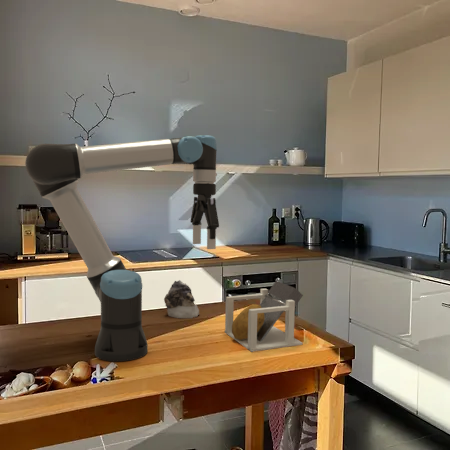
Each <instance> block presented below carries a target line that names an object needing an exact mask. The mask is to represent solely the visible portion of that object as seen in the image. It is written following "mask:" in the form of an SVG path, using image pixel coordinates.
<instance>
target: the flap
mask: <svg viewBox="0 0 450 450" xmlns="http://www.w3.org/2000/svg"><path fill="white" fill-rule="evenodd" d="M303 296H304V295H303V294H302V293H301V292H300V291H299V290H298V289H297V288H296V287H293V286H291V285H288V284H285V283H282V282H280V281H279V280H278V281H277V280H276V281H274V283H273V285H272V286H271V287H270V289H268V295H267V294H266V295H265V298H264V300H263V301H262V303H261V304H260V303H259V305H260V306H261V308H268V307H278V306H286V300H293V301H295V307H296V306H297V305H298V303H299V302H300V300H301V299H302V297H303ZM284 312H285V311H275V312H266V313H264V318H265V320H264V323H263V325H262V326H261V328H260V330H259V331H258V332H257V340H258V341H260V342H262V341H263V339H264V338H265V336H266V335H267V334H268V332H269V331H270V330H271V328H272V327H273V326H274V325H276V322H277V321H278V320H279V319H280V317H281V316H282V314H283V313H284Z"/></svg>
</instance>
